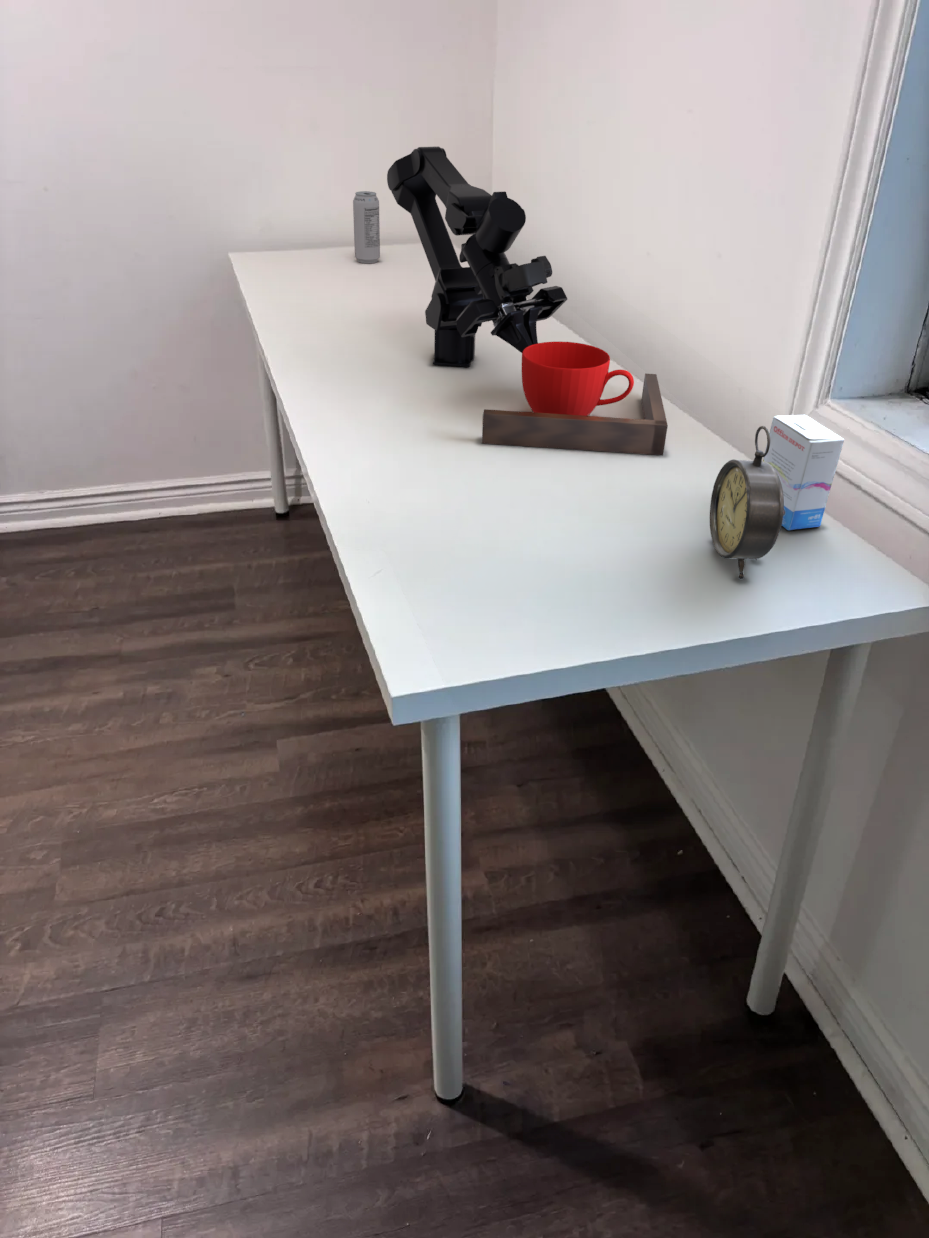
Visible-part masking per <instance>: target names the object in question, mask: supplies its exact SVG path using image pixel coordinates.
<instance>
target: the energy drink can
mask: <svg viewBox="0 0 929 1238" xmlns="http://www.w3.org/2000/svg"><path fill="white" fill-rule="evenodd" d="M354 194H355V195H354V198H353V200H352V211H353V215H352V216H353V241H354V243H353V244H354V245H353V246H354V258H355V259H356V261H357V262H358V263H360V264H375V263H378V262H379V260H380V258H381V238H380V237H381V231H380V229H381V227H380V225H381V224H380V223H381V222H380V200H379V198H378V196H377V192H375V191H370V190H369V191H367V190H362V191H355V192H354Z"/></svg>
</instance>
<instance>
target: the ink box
mask: <svg viewBox="0 0 929 1238" xmlns="http://www.w3.org/2000/svg"><path fill="white" fill-rule="evenodd" d="M769 434H770V447H769V451H768V453H767V455H766V456H765V457H762V461H764V462H767V463H769V464H770V465H771V466H772V467H773V468H774V469H775V470H776V471H777V473H778V475H779V477H780V480H781V483H782V487H783V494H784V514H783V521H782V526H781V527H783V528H784V529H785V530H787V531H793V530H802V529H810V528H820V527H821V525H822V521H823V517H824V514H825V511H826V506H827V503H828V499H829V495H830V492H831V488H832V485H833V482H834V478H835V474H836V471H837V469H838V464H839V461H840V458H841V453H842V450H843V446H844V443H845V439H844V438H843V437H841V436H840V435H839V434H837V433H835V432H834V431H832V430H831V429H829V428H827V427H825V426H824V425H822V424H821V423H819V422H818V421H816V420H814V418H812V417H810V416H808V415H807V414H790V415H789V414H786V415H785V414H783V415H774V416H773V417H772V421H771V425H770V429H769ZM766 449H767V444H766V445H765V449H764V452H765V451H766Z"/></svg>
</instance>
